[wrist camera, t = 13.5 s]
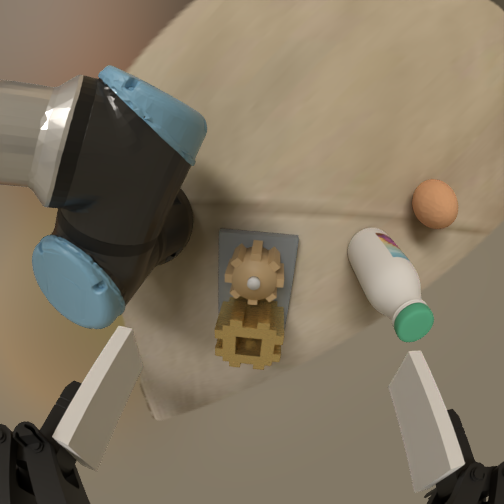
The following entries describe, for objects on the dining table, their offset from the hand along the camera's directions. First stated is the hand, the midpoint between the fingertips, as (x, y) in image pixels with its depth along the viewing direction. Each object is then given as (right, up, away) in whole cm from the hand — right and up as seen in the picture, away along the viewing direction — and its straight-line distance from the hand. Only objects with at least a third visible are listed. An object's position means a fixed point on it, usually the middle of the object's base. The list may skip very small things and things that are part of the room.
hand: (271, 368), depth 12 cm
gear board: (0, -1, +36) cm, 36 cm away
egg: (+27, +14, +26) cm, 40 cm away
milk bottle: (+18, +6, +31) cm, 36 cm away
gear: (-1, -6, +37) cm, 37 cm away
